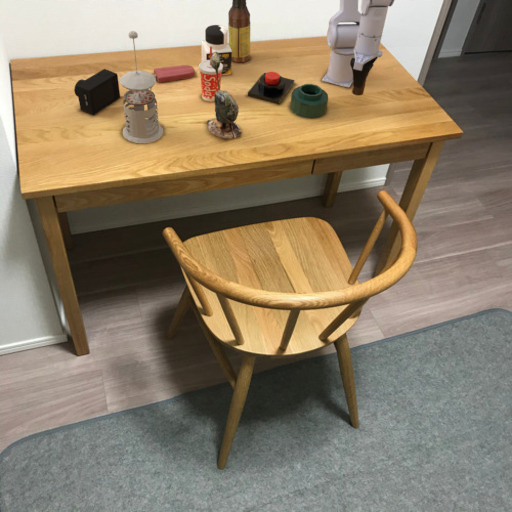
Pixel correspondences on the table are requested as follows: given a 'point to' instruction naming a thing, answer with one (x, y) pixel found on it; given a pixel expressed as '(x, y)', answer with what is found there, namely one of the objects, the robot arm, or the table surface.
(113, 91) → the digital camera
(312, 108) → the green stepped cylinder
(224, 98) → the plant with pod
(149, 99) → the french press
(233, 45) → the sauce bottle
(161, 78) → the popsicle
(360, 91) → the brown cylinder
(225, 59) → the medicine bottle
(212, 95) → the beverage cup
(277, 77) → the button
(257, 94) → the button box
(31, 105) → the table surface
